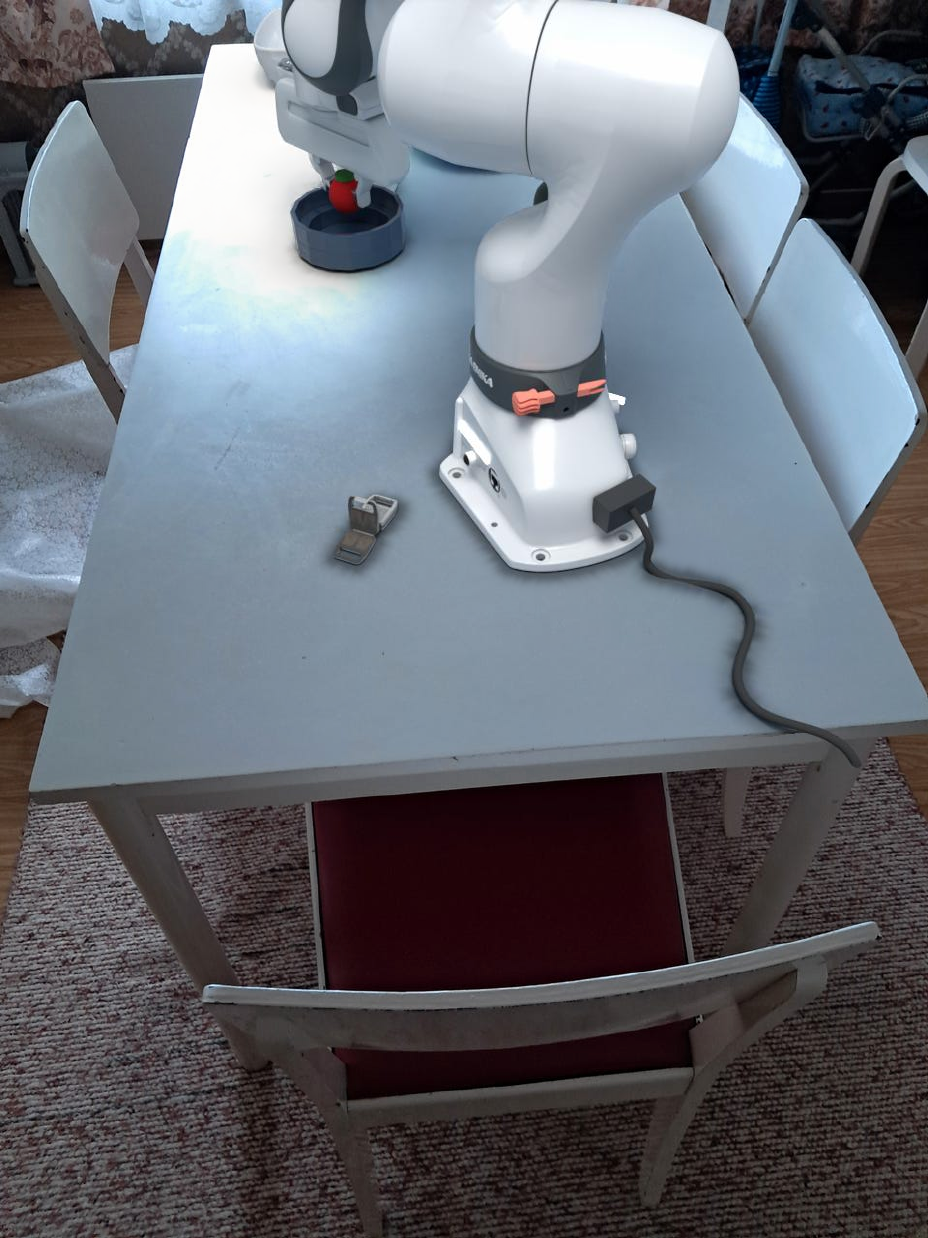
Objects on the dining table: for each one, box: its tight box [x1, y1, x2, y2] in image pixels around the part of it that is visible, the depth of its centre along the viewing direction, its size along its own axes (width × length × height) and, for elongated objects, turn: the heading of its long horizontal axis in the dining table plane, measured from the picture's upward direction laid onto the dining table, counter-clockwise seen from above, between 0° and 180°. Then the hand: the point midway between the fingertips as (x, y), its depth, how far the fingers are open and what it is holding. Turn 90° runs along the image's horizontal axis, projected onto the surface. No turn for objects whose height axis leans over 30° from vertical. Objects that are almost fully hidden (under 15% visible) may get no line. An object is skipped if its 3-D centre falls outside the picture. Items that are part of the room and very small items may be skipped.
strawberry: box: [329, 169, 360, 213], centre depth 109 cm, size 4×4×5 cm
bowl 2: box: [289, 184, 407, 271], centre depth 112 cm, size 14×14×5 cm
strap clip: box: [332, 493, 399, 565], centre depth 80 cm, size 8×3×4 cm, turn 157°
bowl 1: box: [253, 6, 289, 84], centre depth 148 cm, size 20×20×8 cm
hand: (347, 197), depth 109 cm, fingers closed on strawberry, 4 cm apart
